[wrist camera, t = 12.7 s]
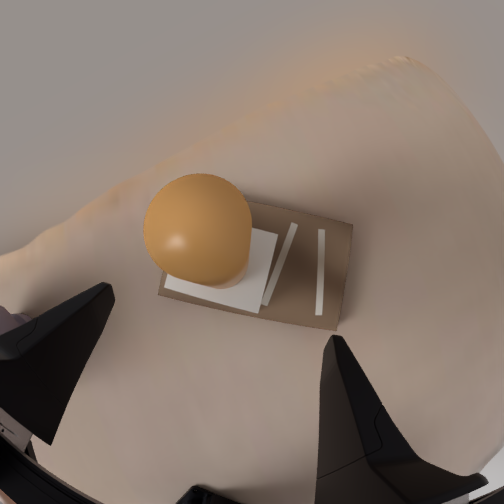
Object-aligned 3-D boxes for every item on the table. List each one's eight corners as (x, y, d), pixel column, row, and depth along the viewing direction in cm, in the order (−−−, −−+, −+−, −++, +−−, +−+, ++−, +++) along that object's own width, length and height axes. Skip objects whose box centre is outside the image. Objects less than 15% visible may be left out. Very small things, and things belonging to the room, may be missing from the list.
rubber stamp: (256, 311, 19) (272, 331, 8) (173, 288, 19) (91, 276, 8) (274, 242, 19) (308, 175, 9) (193, 221, 19) (140, 141, 9)
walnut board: (330, 328, 20) (336, 331, 18) (163, 295, 20) (157, 294, 19) (346, 229, 21) (353, 224, 20) (188, 196, 21) (184, 189, 20)
